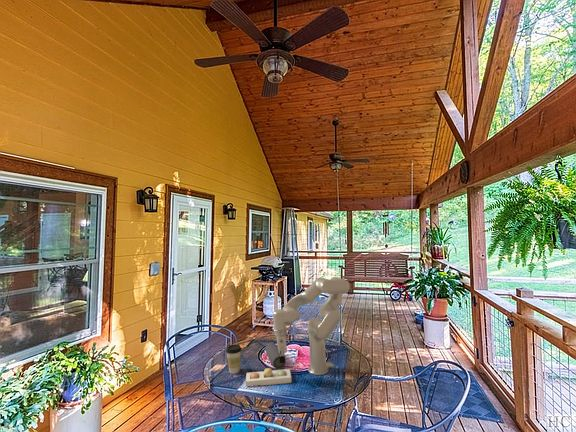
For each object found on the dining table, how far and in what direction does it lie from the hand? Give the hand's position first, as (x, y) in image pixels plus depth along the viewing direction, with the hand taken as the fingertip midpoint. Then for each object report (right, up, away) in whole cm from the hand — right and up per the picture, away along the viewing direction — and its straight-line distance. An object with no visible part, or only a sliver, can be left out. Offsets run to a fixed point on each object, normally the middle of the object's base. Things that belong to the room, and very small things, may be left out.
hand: (282, 362), depth 178 cm
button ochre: (-8, -7, -1) cm, 11 cm away
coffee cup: (-31, -11, +11) cm, 34 cm away
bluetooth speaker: (-5, -11, +20) cm, 23 cm away
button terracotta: (-16, -9, -2) cm, 19 cm away
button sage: (0, -9, 0) cm, 9 cm away
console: (-8, -10, -1) cm, 13 cm away
